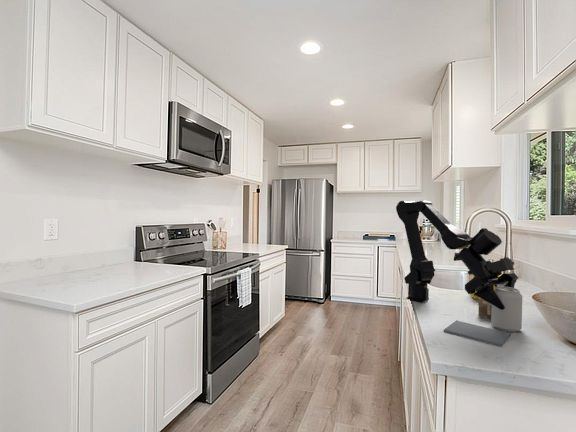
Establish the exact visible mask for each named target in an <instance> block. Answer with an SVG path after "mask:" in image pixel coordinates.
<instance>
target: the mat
mask: <svg viewBox="0 0 576 432" xmlns="http://www.w3.org/2000/svg"><path fill="white" fill-rule="evenodd" d="M443 332H445V333H448V334H452V335H456V336H459V337H463V338H467V339H470V340H475V341H478V342H481V343H486V344H488V345H492V346H497V347H500V348H501V347H503V345H504V344H505V342H506V341H507V340H508V339H509V337H510V336H511V332H508V331H503V330H499V329H496V328H491V327H486V326H482V325H477V324H474V323H470V322H466V321H460V320H456V319H455V321H454V322H452V323H450V324H449V325H448V326H447V327H445V328H444V329H443Z"/></svg>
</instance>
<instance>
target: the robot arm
mask: <svg viewBox="0 0 576 432" xmlns="http://www.w3.org/2000/svg"><path fill="white" fill-rule="evenodd" d="M395 211H396V213H397V216H398V218H399V220H400V221H402V223H403V224H404V229H405V233H406V238H407V243H408V247H409V251H410V256H411V261H410V263H409V272H408V274H406V276H404V283H405V284H406V285H407V286H408V287H407V288H408V289H407V297H405V299H406V300H410V301H415V302H419V303H424V302H426V301H428V300H429V299H430V298H429V297H430V295H429V288H428V285H431V284H432V283H431V282H432V280H433V278H434V277H435V272H436V269H435V266H434V261H433V260H429V259H428V258H427V257H426V254H425V249H424V245H423V241H422V237H421V232H420V229H419V224H418V220H419V216H420V213H421V214H422V215H423V216H424V217H425V218H426V219H427V221H428V222H429V223H430V224H431V225H432V226H433V227H434V228H435V229H436V230H437V231H438V232H439V235H440V237H441V241H442V242H443V244H444V245H445V247H446V249H449V250H460V251H459V252H458V251H457V252H454V256H453V261H454V262H456V261H457V262H459V261H461V262H462V263H463V264H464V265H465V266H466V269H468V271H467V273H468V275H469V276H470V275H472V276H474V278H473V279H472V278H471V279H470V280H469V281H468V282H467V283H465V284H464V290H465V292H466V293H467V294H468V295H471V294H473V293H474V295H475V296H478V297H480V298H482V299H483V300H485V301H487V302H489V303H491V304H492V305H494V306H496V307H497V308H499V309H501V310H503V309H505V307H504V305H503V304H502V302H501V301H500V299H499V298H498V296H497V295H496V293H495V292H494V286H495V287H497V286H504V287H512V288H515V285H516V283H517V281H518V279H519V276H518V275H517V274H516V273H515V272H507V271H509V270H510V271H513V270H514V269H515V268H514V266H515V261H513V260H512V259H511V258H509V257H508V256H506V257H505V256H504V257H502V258H499V260H496V261H490V260H486V259H485V258H484V257H483V255H484V256H489V254H491V252H493V251H495V250H496V248H497V247H499V246H500V245H501V244H502V243H503V241H502V238H501V237H500V236H499V235H498V234H496V233H494V232H492V231H490V230H489V229H487V228H486V227H485V228H484V227H483V228H481V229H479V231H478V232H477V233H476V234H475V235H474V236H473V237H472V236H470V235H469V234H468V233H466V231H464V230H462V229H461V228H458V227H456V226H455V225H453V224H452V223H451V222H450V221H449V220H448V219H447V218H446V217H445V216H444V215H443V214H442V213H441V212H440V211H439V210H438V209H437V208H436V207H435V206H434V205H433V202H431V201H429V200H419V201H415V200H400V201H398V202H397V205H396V206H395ZM502 273H503V274H502ZM501 274H502V275H501ZM500 275H501V276H500ZM498 276H499V277H498ZM493 285H494V286H493ZM475 289H476V293H475Z"/></svg>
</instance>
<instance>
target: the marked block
mask: <svg viewBox="0 0 576 432" xmlns="http://www.w3.org/2000/svg"><path fill="white" fill-rule="evenodd" d="M477 311H478V316H479V317H483V318H487V319H491V311H492V304H491V303H489V302H487V301H485V300H483V299H482V298H479V299H478V310H477Z"/></svg>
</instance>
